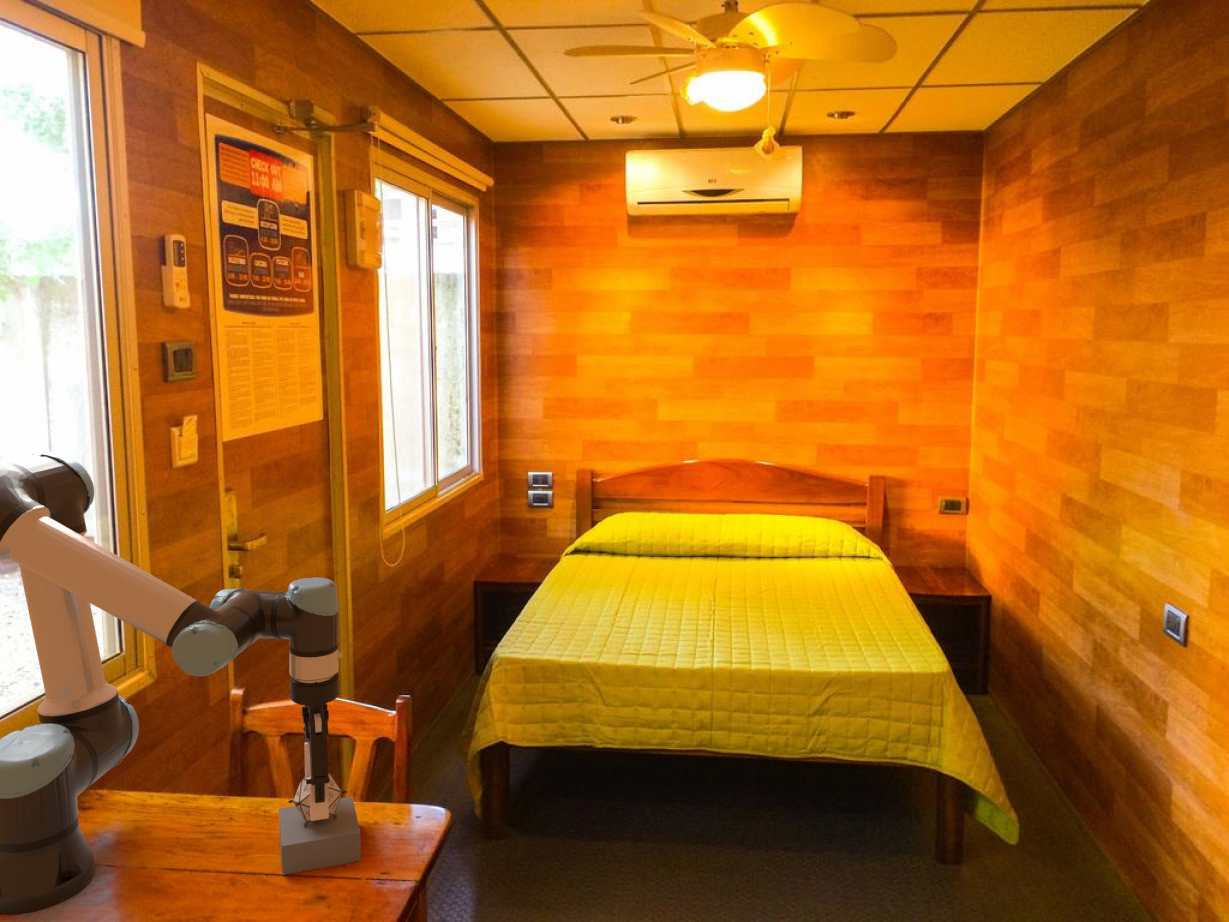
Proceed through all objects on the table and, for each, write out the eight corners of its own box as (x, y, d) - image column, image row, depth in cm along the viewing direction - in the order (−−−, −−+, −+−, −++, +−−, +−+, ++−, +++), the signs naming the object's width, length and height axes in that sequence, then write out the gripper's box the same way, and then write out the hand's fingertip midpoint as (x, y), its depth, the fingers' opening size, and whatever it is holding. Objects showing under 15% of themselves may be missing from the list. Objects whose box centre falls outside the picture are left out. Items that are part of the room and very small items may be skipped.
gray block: (282, 875, 147) (281, 846, 146) (279, 835, 158) (278, 808, 157) (360, 860, 151) (360, 832, 151) (352, 823, 162) (352, 796, 162)
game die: (306, 842, 154) (267, 797, 152) (340, 803, 160) (303, 760, 159) (333, 835, 148) (292, 789, 147) (367, 795, 155) (329, 750, 153)
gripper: (346, 702, 140) (347, 833, 143) (332, 645, 163) (333, 759, 166) (293, 708, 137) (296, 841, 141) (286, 650, 160) (288, 765, 163)
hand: (316, 797), depth 153 cm, fingers open, 13 cm apart
